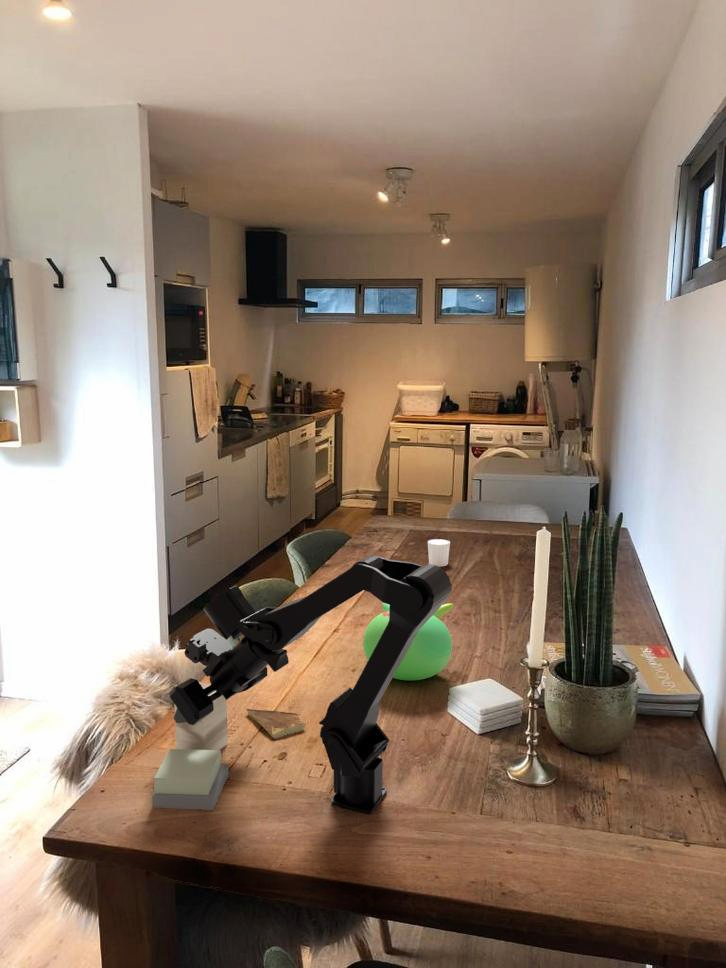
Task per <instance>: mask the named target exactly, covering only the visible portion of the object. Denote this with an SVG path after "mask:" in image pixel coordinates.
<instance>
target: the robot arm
mask: <svg viewBox="0 0 726 968" xmlns="http://www.w3.org/2000/svg"><path fill="white" fill-rule="evenodd" d="M363 591H364V592H367V593H370V594H371V595H373V596H374V597H375V598H377V599H378V600H379V601H380V602H382V603H386V604H388V605H390V606H389V622H388V624H387V626H386V628H385V630H384V632H383V634H382V636H381V638H380V639H379V641H378V643H377V645H376V647H375V649H374V651H373V653H372V655H371V656H370V658H369V660H368V659H367V662H366V664H365V666H364V668H363V670H362V672H361V673H360V675H359V677H358V679H357V681H356V682H355V685H354V687H353V688H352V687H348V688H347V689H345V690H344V691H343V692H342V693H341V694H339V695H338V696H337V697H336V698H334V699H333V700H332V701H331V702H329V704H328V707H327V710H326V713H325V716H324V717H323V718H322V719H321V720H320V721H319V723H318V724H319V725H322V726H321V728H320V730H319V738H320V739H321V741H322V744H323V745H324V746H323V747H324V749H325V751H326V752H325V753H326V755H327V758H328V761H329V764H330V767H331V770H332V771H333V772H332V773H333V778H332V779H333V793H334V795H333V797H332V798H331V801H330V802H331V804H332V805H336V806H338V807H343V808H345V809H350V810H353V811H357V812H360V813H365V814H366V815H367V814H372V813H373V812H374V810H375V809H376V807H378V805H379V804H380V802H381V801H382V799H383V798H384V797H385V795H386V794H387V792H388V790H387V788H386V787H385V786H383V780H384V779H383V776H384V775H383V769H384V767H383V766H384V765H383V763H384V761H383V758H381V755H382V753H385V752H386V751H387V749H388V746H389V743H390V739H389V737H388V736H387V735H386V733H385V732H384V731H383V730H382V729H381V727H380V726H379V724H378V723H377V722H378V718H379V714H380V702H381V699H382V698H383V696H384V694H385V692H386V691H387V689H388V686H389V685H390V683H391V681H392V680H393V679H394V678H393V676H394V674H395V672H396V671H397V669H398V667H399V665H400V663H401V662H402V660H403V658H404V656H405V654H406V653H407V651H408V649H409V647H410V645H411V644H412V642H413V640H414V638H415V636H416V635H417V633H418V631H419V630H420V628H421V627H422V626H423V625H424V624H425V623H426V622H427V621H428V620H429V619H430V618H431V617H432V616H433V615H434V613H435V612H436V611H437V610H438V609H439V608H440V607H441V606H442V605H444V603H445V602H447V600H448V599H449V598H450V596H451V594H452V591H453V584H452V582H451V579H450V576H449V575H448V574H447V572H446V571H445V570H444V569H443V568H442V567H441V566H440V567H439V566H436V565H430V564H429V563H428V564H425V565H422V564H419V563H416V562H412V561H403V560H402V561H401V560H396V559H395V560H394V559H390V558H389V559H388V558H386V557H383V556H380V555H379V556H378V555H374V554H373V555H371V554H370V555H369V556H366V557H364V558H362V559H360V560H358V561H356V562H355V563H354V564H353V565H352V566H351V567H350V568H349V569H347V570H346V571H344V572H343V573H341V574H339V575H338V576H336V577H335V578H333V579H332V580H330V581H328V582H327V583H325V584H324V585H322V586H321V587H319V588H318V589H316V590H314V591H313V592H311V593H309V595H307V596H305V597H300V598H297V599H294V600H292V601H289V602H285V603H284V604H282V605H280V606H278V607H277V606H276V607H274V606H265V607H263V608H261V609H260V610H258V611H256V610H255V609H254V607H252V605H251V603H250V602H249V601H248V599H247V598H246V596H245V595H244V594H243V591H242V590H241V589H240V587H239V586H238V585H236V584H235V585H233V586H231V587H228V589H226V590H225V591H224V592H223V593H221V594H219V595H218V596H216V597H215V598H214V599H213V600H211V601H209V602H208V603H207V604H206V605H205V606H204V608H203V611H204V612H205V614H206V615H207V616H208V618H209V620H210V621H211V622H212V623H213V625H214V626H215V627H216V629H217V630H218V631H219V632H218V631H216V630H214V629H212V628H205V629H204V630H201V631H200V632H198V633H195V634H194V635H193V636H192V637H191V638H190V639H189V640H188V642H187V643H185V644H184V648H185V649H184V652H183V653H184V656H185V657H186V658H187V659H188V660H190V661H191V662H192V663H193V664H198V663H200V664H201V665H202V666H205V667H204V668H203V669H202V672H203V673H204V675H205V676H206V677H209V680H208V681H209V682H210V684H209V685H210V686H208V687H206V688H205V689H203V687H202V686H201V685H200V683H199V682H200V681H198V679H195V678H188V679H187V680H185V681H183V682H181V683H179V684H178V685H176V686H175V687H174V688H173V689H172V690H171V691H170V692H169V698H170V700H171V701H172V702H173V703H174V704H175V705H176V707H177V710H176V713H175V712H174V715H173V720H174V721H176V723H185V722H187V723H188V724H190V725H195V724H196V723H198V722H199V721H201V720H202V719H204V718H205V717H206V716H208V715H209V714H210V713H211V712H212V711H213V710H214V708H213V701H214V700H216V699H217V698H219V697H221V696H222V695H223V696H224V698H225V699H226V701H228V700H229V699H231V698H232V697H233V696H235V695H237V694H239V693H243V692H246V691H248V690H250V689H251V688H252V687H255V686H256V685H258V684H259V683H261V682H262V681H263V680H264V679H266V677H268V667H267V666H269V667H270V669H271V670H272V671H273V672H274V673H275V672H278V671H279V670H281V669H282V668H284V667H285V666H287V665H289V657H288V650H287V649H284V648H285V647H288V646H289V645H291V644H292V643H293V642H295V641H297V640H299V639H300V638H302V637H303V636H304V635H305V634H306V633H307V632H309V631H310V630H311V628H313V626H315V625H316V623H317V622H318V621H319V619H321V617H323V616H325V615H326V614H327V613H329V612H330V611H331V610H334V609H335V608H337V607H339V606H340V605H342V604H343V603H345V602H347V601H348V600H350V599H351V598H353V597H354V596H356V595H358V594H359V593H361V592H363ZM242 636H244V637H242ZM240 637H242V638H241V639H240V640H239V641H238V642H237V643H236V644H235V645H234V646H233V645H231V644H230V643H229V641H228V639H229V638H232V639H233V640H234V641H235V640H236V639H238V638H240ZM214 691H216V692H215V693H213V692H214ZM211 693H213V694H212V695H210V694H211ZM208 695H210V696H208Z"/></svg>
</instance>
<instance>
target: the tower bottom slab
mask: <svg viewBox="0 0 726 968" xmlns="http://www.w3.org/2000/svg"><path fill="white" fill-rule="evenodd" d="M229 775H230V774H229V764H226V763H225V764H224V763H223V764H222V763H221V767H220V769H219V771H218V774H217V776H216V778H215V781H214V783H213V786H212V788H211V790H210V793H209V795H194V794H163V793H155V790H153V793H152V796H151V797H152V798H151V799H152V808H159V809H161V808H162V809H177V810H178V809H181V810H196V809H203V810H202V811H214V809H215V807H216V805H215V804H217V803H218V800H219V798H220V796H221V794H222V792H221V790H222V791H223V789H224V787H225V785H226V783H225V782H227V781H228V779H229ZM226 780H227V781H226ZM224 784H225V785H224ZM223 786H224V787H223ZM222 788H223V789H222ZM220 793H221V794H220ZM219 795H220V796H219ZM218 797H219V798H218ZM216 802H217V803H216ZM205 809H206V810H205Z"/></svg>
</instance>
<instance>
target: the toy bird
mask: <svg viewBox="0 0 726 968" xmlns="http://www.w3.org/2000/svg"><path fill="white" fill-rule="evenodd" d="M389 606H390V605H388V604H386V603H383V602H382V603H381V607H382V610H383V612H382V613H379V614H378V615H376V616H375V617H374V618H373V619H372V620H371V621H369V623H368V625H367V627H366V629H365V632H364V635H363V638H362V639H363V640H362V642H363V643H362V644H363V645H362V646H363V652H364V654H365V657H366V659H367V661H368V660H369V658H370V656H371V655H372V653H373V651H374V649H375V647H376V645H377V643H378V641H379V639H380V638H381V636H382V634H383V632H384V630H385V628H386V626H387V624H388V622H389ZM453 607H454V604H453V603H445V604H444V603H443V604H442V606H441V607H440V608H439V609H438V610H437V611H436V612H435V613H434V615H433V616H432V617H431V618H430V619H429V620H428V621H427V622H426V623H425V624H424V625H423V626H422V627H421V628H420V630H419V631H418V633H417V635H416V636H415V638H414V640H413V642H412V644H411V645H410V647H409V649H408V651H407V653H406V654H405V656H404V658H403V660H402V662H401V663H400V665H399V667H398V669H397V671H396V672H395V674H394V676H393V678H392V679H396V680H400V681H421V680H424V679H429V678H431V677H433V676H436V675H437V674H439V673H441V672H442V670H443V669H444V668H445V667H446V665H447V664H448V662H449V660H450V659H451V655H452V651H453V640H452V635H451V634H450V631H449V629H448V627H447V626H446V624H445V623H444V622H443V621H442V620H440V618H441V617H442V616H444V615H445V614H446V613H448V612H450V611H451V610H452V609H453Z"/></svg>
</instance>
